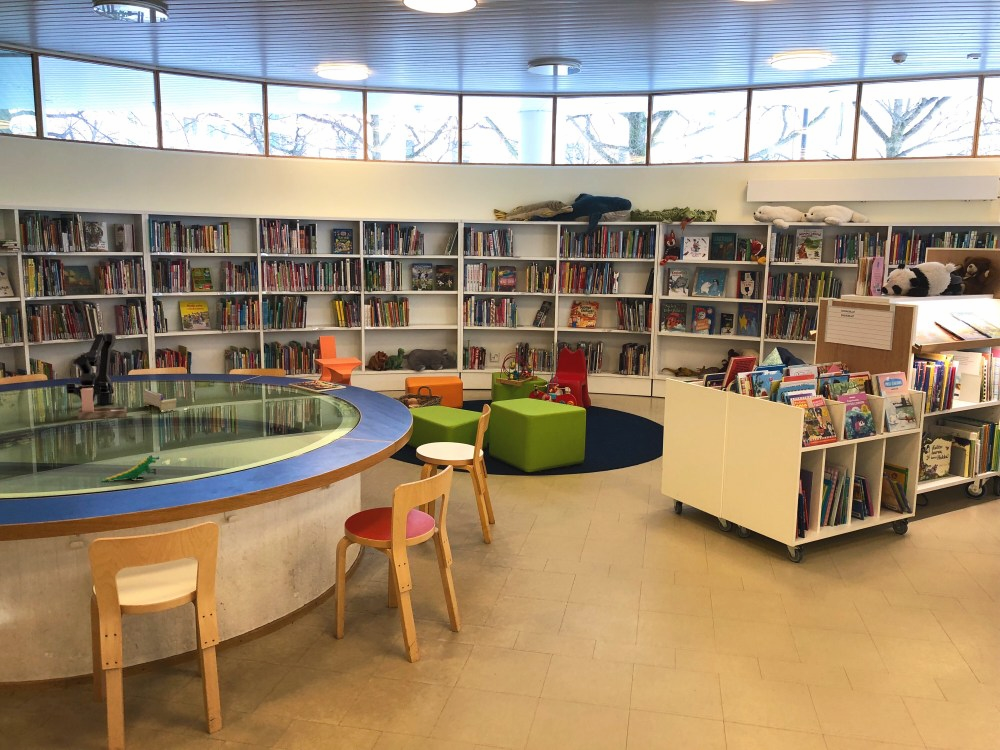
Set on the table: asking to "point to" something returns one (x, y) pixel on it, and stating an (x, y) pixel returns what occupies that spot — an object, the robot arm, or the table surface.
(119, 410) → the box
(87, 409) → the coral block
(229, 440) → the table surface
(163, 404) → the toy sofa
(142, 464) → the crocodile
